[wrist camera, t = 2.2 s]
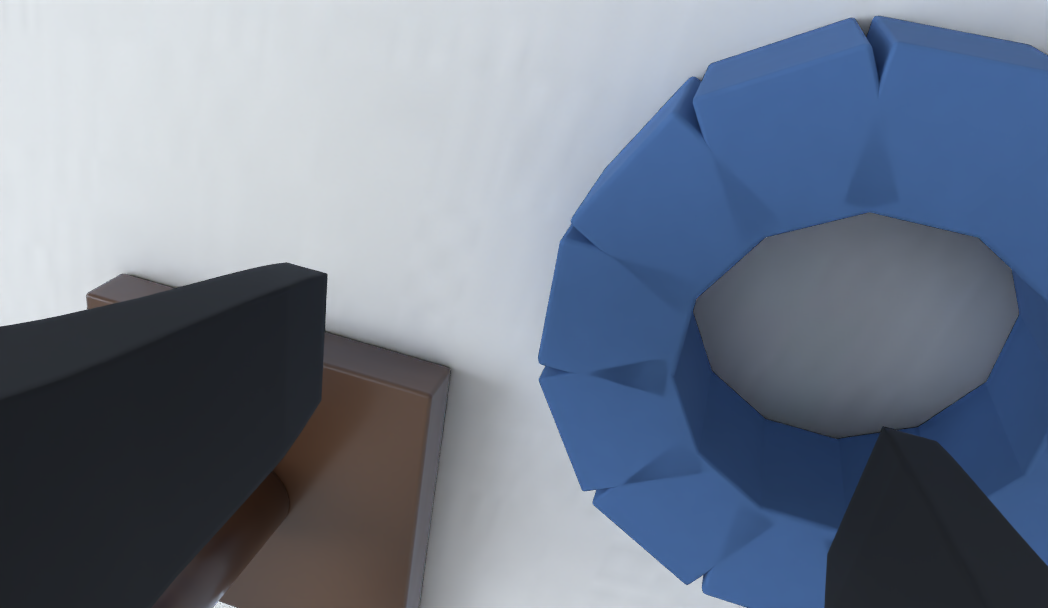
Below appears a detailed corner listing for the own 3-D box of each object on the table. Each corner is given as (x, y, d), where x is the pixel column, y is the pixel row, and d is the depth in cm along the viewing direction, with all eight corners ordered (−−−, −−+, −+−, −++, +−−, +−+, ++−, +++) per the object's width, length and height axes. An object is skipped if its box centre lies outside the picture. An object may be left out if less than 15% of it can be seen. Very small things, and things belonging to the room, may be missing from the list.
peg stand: (452, 367, 18) (322, 548, 13) (417, 630, 21) (306, 850, 16) (122, 271, 19) (-112, 401, 14) (143, 534, 23) (-36, 710, 18)
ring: (1308, 98, 12) (1445, 149, 9) (1017, 588, 16) (1057, 709, 14) (639, -31, 13) (607, -16, 11) (542, 446, 18) (503, 531, 15)
